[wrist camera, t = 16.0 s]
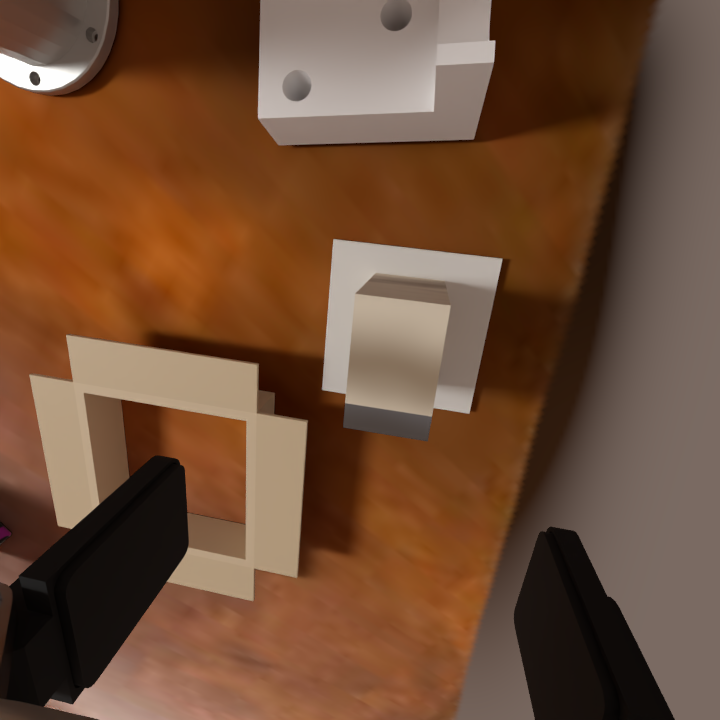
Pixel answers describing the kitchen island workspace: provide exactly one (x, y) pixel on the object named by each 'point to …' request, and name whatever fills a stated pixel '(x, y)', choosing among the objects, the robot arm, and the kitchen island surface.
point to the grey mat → (459, 271)
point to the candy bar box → (4, 533)
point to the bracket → (373, 70)
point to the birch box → (396, 355)
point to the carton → (191, 393)
